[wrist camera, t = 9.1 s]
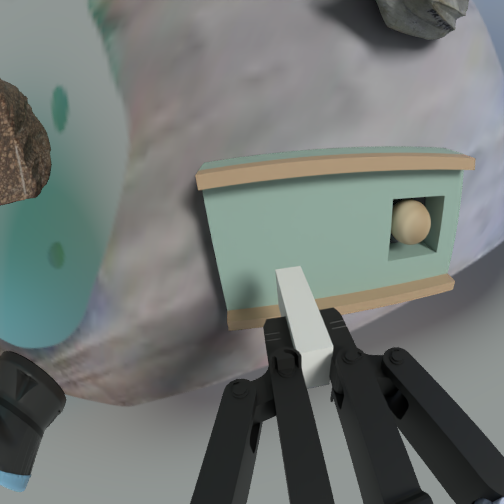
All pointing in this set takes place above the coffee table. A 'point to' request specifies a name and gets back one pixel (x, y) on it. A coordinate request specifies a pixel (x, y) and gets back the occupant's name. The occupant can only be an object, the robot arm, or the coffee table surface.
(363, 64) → the coffee table surface
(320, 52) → the coffee table surface
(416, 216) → the ball
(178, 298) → the coffee table surface
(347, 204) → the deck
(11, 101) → the rock
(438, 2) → the fossil
